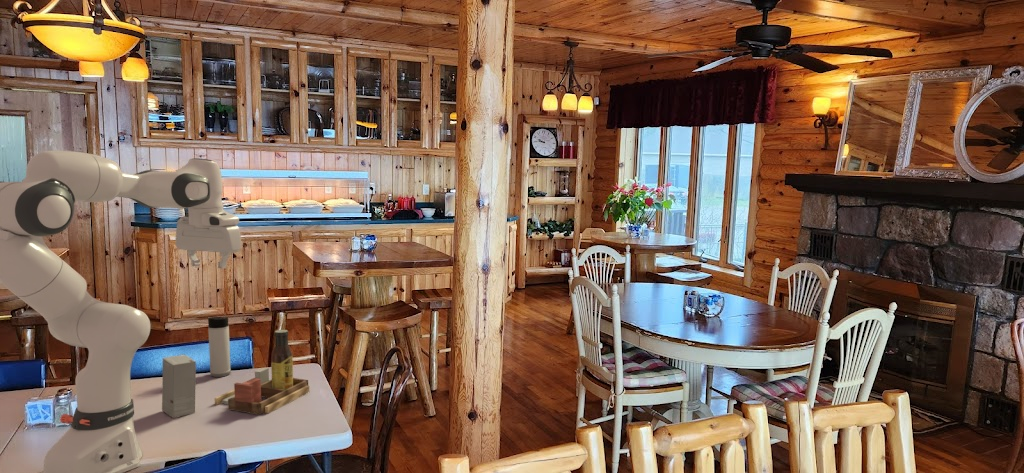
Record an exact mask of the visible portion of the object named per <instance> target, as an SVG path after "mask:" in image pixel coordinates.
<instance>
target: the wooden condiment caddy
mask: <svg viewBox="0 0 1024 473" xmlns="http://www.w3.org/2000/svg"><path fill="white" fill-rule="evenodd" d="M233 384H234V385H233V386H234V389H233V390H235V396H234V397H232V398H230V399H228V404H227V406H228V410H232V411H238V412H241V413H242V412H243V413H249V414H253V415H261V414H263V413H265V406H267V405H269V404H271V403H273V402H275V401H277V400H279V399H281V398H283V397H285V396H287V395H289V394H291V393H293V392H295V391H297V390H299V389H301V388H303V387H305V386H309V380H308V379H303V378H298V377H293V386H292V387H290V388H288V389H286V390H283V389H277V388H272V379H269V381H267V382H265V383H263V384H261V379H257V378H255V377H254V378H251V379H248V380H246V381H244V382H242V383H241V382H235V383H233ZM262 397H263V398H266V399H264V400H262Z"/></svg>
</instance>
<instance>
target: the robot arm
mask: <svg viewBox="0 0 1024 473" xmlns="http://www.w3.org/2000/svg"><path fill="white" fill-rule="evenodd" d="M25 175H26V176H25V177H24V178H23V179H22V180H21V181H0V284H1V285H3V286H4V287H5V288H6V289H7V290H8V291H9V292H11V293H12V294H13V295H15V296H16V297H17V298H19V299H20V300H21V301H23V302H24V303H26V305H28V307H30V308H32V310H34V311H36V312H37V313H38V314H39V315H41V317H42V318H44V320H45V321H46V322H47V327H48V328H47V329H48V331H49V333H50V334H51V336H52V337H53V338H55V339H56V340H58V341H60V342H63V343H64V344H67V345H69V346H72V347H80V348H86V349H87V350H88V358H87V361H86V365H85V366H84V367H83V368H82V369H80V371H78V373H77V374H76V376H75V380H74V381H75V393H76V394H75V395H76V408H75V411H74V412H73V415H72V414H67V413H63V414H62V415H61V416H60V418H59V421H60V423H61V424H62V423H63V424H65V425H66V424H67V425H68V424H69V425H70V427H69V429H68V430H66V432H65V433H63V435H62V436H61V437H60V438H59V439H58V440H57V441H56V442H55V443H54V444H53V445H52V446H51V448H49V450H48V451H47V452H46V454H45V456H44V461H43V462H44V463H43V470H42V471H40V472H39V473H126V472H128V471H131V470H134V469H136V468H138V467H140V465H141V462H140V461H141V460H140V459H141V458H142V456H143V451H142V450H141V448H140V445H139V441H138V438H137V435H136V434H137V433H136V429H135V423H134V418H133V417H134V415H135V405H134V399H133V398H132V392H131V391H132V390H131V368H132V363H133V360H134V358H135V354H136V352H137V350H138V349H140V348H141V347H142V346H144V344H145V343H146V342H147V340H148V338H149V336H150V333H151V321H150V318H149V317H148V315H147V314H146V312H144V311H142V310H140V309H138V308H135V307H133V306H130V305H128V304H122V303H121V304H120V303H113V302H106V301H102V300H100V299H97V298H95V297H93V296H92V295H91V294H90V293H89V291H88V290H87V288H88V284H87V280H86V279H85V278H84V277H83V276H82V275H81V274H80V273H79V272H77V271H76V270H75V269H74V268H72V267H71V265H69V264H68V263H67V262H66V261H65V260H63V259H62V258H61V257H60V256H58V254H56V253H55V252H54V251H53V250H51V249H50V248H49V246H47V244H46V242H45V240H44V238H43V237H49V236H53V235H58V234H60V233H62V232H64V231H65V230H66V229H67V228H68V227H69V226H70V224H71V223H72V220H73V218H74V214H75V202H82V203H83V202H84V203H102V202H111V201H113V200H114V199H115V198H116V197H117V198H126V199H130V200H132V201H134V203H135V202H136V203H137V204H139V205H140V206H143V207H145V208H151V209H153V208H168V209H170V208H171V209H188V210H187V211H188V212H187V213H188V216H181V217H180V218H178V220H177V222H176V230H175V247H176V248H177V249H178V250H183V251H186V253H187V256H188V258H189V259H190V263H191V264H190V265H191V267H199V266H201V259H199V258H198V257H197V253H198V252H210V253H219V256H220V257H221V259H220V261H217V268H218V269H222V270H223V269H226V268H227V267H228V266H227V265H228V264H227V263H228V260H229V258H230V255H231V254H235V253H239V252H240V250H241V249H242V237H241V229H240V227H239V226H238V225H239V224H240V217H238V215H234V214H232V213H230V212H228V211H227V210H224V204H223V201H222V195H223V179H222V178H223V177H222V172H221V168H220V166H219V164H218V162H217V161H214V160H212V159H208V158H196V157H195V158H194V157H193V158H190V159H189V160H188V162H187V163H186V164H185V165H184V166H182V167H180V168H179V169H176V170H175V171H165V170H163V171H162V170H155V169H154V170H152V169H151V170H150V169H147V170H142V171H139V172H136V173H128V172H122V169H121V166H120V165H119V164H118V163H117V162H116V161H115V160H113V159H110V158H107V157H105V156H103V155H97V154H93V153H87V152H80V151H73V150H44V151H40V152H38V153H36V154H34V155H33V156H32V157H31V158H30V160H29V161H28V163H27V165H26V170H25Z"/></svg>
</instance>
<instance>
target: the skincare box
mask: <svg viewBox="0 0 1024 473" xmlns="http://www.w3.org/2000/svg"><path fill="white" fill-rule="evenodd" d="M196 362H197V361H196V360H195V359H193V358H192V356H191V357H190V356H188V355H186V354H179V355H173V356H165V357H163V358H162V390H161V391H162V392H161V395H162V398H161V401H162V402H161V411H162V412H164V413H165V414H167V415H168V416H169V417H171V418H173V419H176V418H179V417H183V416H188V415H192V414H195V413H196V374H197V371H196V370H197V369H196V368H197V367H196V366H197V363H196Z"/></svg>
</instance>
